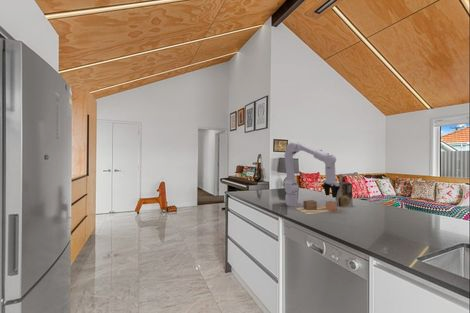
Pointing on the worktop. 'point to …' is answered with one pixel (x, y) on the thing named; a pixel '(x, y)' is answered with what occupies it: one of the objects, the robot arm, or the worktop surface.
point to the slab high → (310, 203)
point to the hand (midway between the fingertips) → (330, 196)
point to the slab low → (310, 207)
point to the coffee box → (344, 195)
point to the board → (319, 210)
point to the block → (331, 205)
